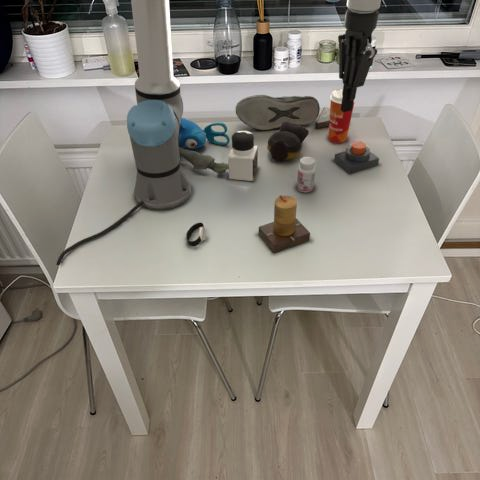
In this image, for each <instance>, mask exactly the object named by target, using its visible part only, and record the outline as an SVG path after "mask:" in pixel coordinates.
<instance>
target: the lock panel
mask: <svg viewBox="0 0 480 480" xmlns="http://www.w3.org/2000/svg"><path fill="white" fill-rule="evenodd" d="M258 237H260V238H261V240H262V241H263V242H264V243H265V244H266V246H267V247H268V248H269V249H270V251H272V253H273V254H276V253H278V252H281V251H285V250H287V249H289V248H292V247H295V246H298V245H301V244H305V243H307V242H309V241H310V238H311V232H310V231H309V230H308V229H307V228H306V226H305V225H304V224H303V223H302V222H301V221H300V220H299V219H298V218H297V217H296V222H295V231H294V233H293V234H291V235H289V236H280V235H277V234H276V233H275V232H274V221H272V222H268V223H266V224H263V225H259V226H258Z"/></svg>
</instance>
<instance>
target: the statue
mask: <svg viewBox="0 0 480 480" xmlns="http://www.w3.org/2000/svg"><path fill="white" fill-rule="evenodd" d="M178 147H179V146H178ZM179 155H180V158H183V159H184V160H186V161H187V162H188V163H190V164H191V165H192V166H193V168H192V170H195V171H202V170H205V171H206V170H211V171H213V173H216V174H220V175H223V174H224V173H226V172H227V171H229V164H228V163H225V162H224V161H223V162H216V161H215V160H216V159H215V158H214V157H213V156H211V155H208V154H202V153H200V152H198V151H195V150H192V149H187V148H184V147H179Z"/></svg>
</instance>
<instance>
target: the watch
mask: <svg viewBox="0 0 480 480" xmlns="http://www.w3.org/2000/svg"><path fill="white" fill-rule="evenodd" d="M197 230H199V232H198V233H199V234H198V237H197V238H196V239H195V240H190V239H191V237H192V234H193V233H194V232H195V231H197ZM206 232H207V231H206V229H205V226H204V222H196V223H194V224H193V225H191V226H190V227H189V229H188V230H187V232H186V234H185V235H186V236H185V239H186V241H187V243H188V245H189V246H190V247H197V246H199V245H200V244H201V243H202V241H206V239H207V233H206Z"/></svg>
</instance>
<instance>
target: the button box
mask: <svg viewBox="0 0 480 480" xmlns="http://www.w3.org/2000/svg"><path fill="white" fill-rule="evenodd" d="M351 147H352V144H351V145H348V146H347V147H346V148H345V150H343V151H341V152H337V153H335V154H334V159H333V162H334V163H336V164H337V165H339V166H340V167H341V168H342V169H343V170H344V171H345V172H347V173H348V174H350V175H351V174H353V173H356V172H360V171H362V170H366V169H369V168H372V167H376V166H379V162H380V158H379V156H377V155H376V154H374V153H373V152H372V151H371V149H370V147H368V146H366V149H365V153H364V154H361V155H357V154H353V153H352V152H351Z"/></svg>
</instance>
